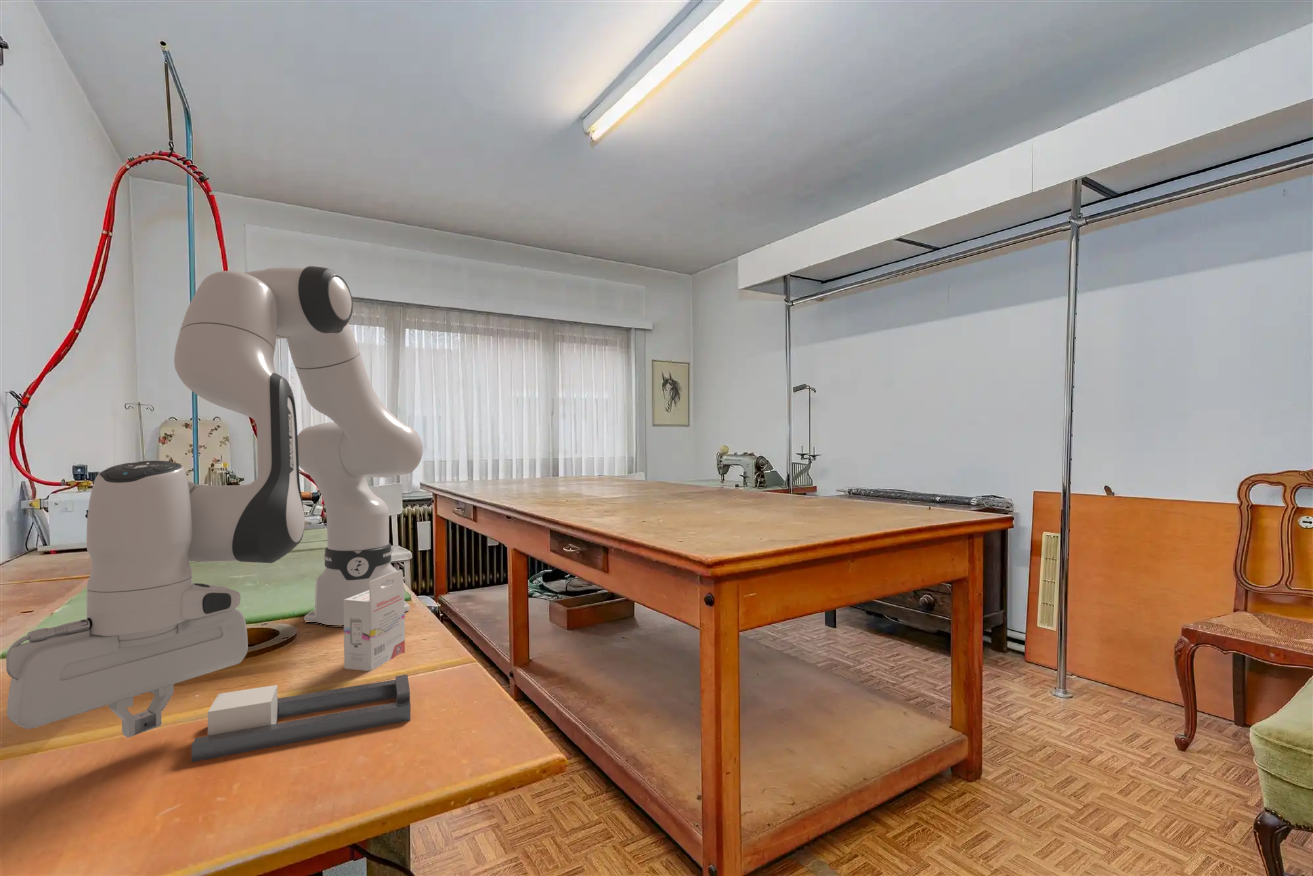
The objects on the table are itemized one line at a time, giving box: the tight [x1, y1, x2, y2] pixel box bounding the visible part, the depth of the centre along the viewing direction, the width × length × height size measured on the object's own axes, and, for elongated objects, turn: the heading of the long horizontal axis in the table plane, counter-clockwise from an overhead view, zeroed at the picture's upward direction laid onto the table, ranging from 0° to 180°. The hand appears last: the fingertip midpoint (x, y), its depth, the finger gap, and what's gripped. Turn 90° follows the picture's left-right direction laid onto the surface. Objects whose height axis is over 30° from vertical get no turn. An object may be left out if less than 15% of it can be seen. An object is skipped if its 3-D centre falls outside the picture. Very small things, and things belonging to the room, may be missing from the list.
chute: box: [191, 674, 412, 763], centre depth 72 cm, size 9×22×4 cm, turn 116°
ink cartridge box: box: [343, 569, 406, 672], centre depth 92 cm, size 9×5×15 cm, turn 168°
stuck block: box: [207, 684, 278, 736], centre depth 69 cm, size 5×6×4 cm
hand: (142, 730), depth 65 cm, fingers closed
